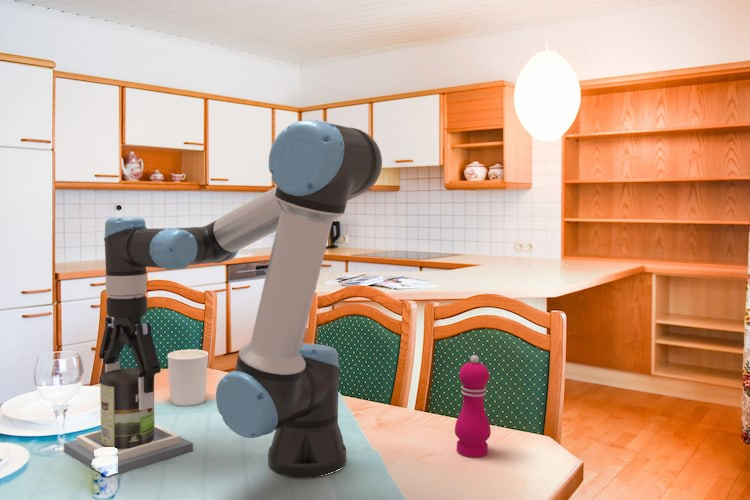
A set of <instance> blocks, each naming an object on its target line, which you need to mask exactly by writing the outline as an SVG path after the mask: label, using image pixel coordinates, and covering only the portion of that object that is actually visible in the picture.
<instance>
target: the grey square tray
mask: <svg viewBox="0 0 750 500" xmlns="http://www.w3.org/2000/svg"><path fill="white" fill-rule="evenodd" d="M154 438H155V441H154V442H150V443H147V444H143V445H140V446H136V447H133V448H129V449H126V450H122V451H119V452H117V456H118V474H122V473H125V472H128V471H131V470H134V469H138V468H140V467H145V466H147V465H151V464H154V463H157V462H160V461H162V460H167V459H170V458H172V457H176V456H180V455H183V454H186V453H189V452H192V451H194V442H192V441H189V440H187V439H185V438H183V437H182V436H181V435H180V434H177V433H176V432H173V431H171V430H169V429H167V428H165V427H163V426H160V425H158V424H156V423H154ZM98 448H102V446H101V429H100V430H99V429H98V430H96V431H92V432H89V433H88V432H87V433H83V434H80V435H77V436H76V440H73V441H69V442H64V443H63V451H64V452H66V454H68V455H70V456H72V457H73V458H74V459H76V460H78V461H79V462H82V463H83V464H85V465H86V466H87V467H89V468H91V469H92V465H91V463H92V460H93V459H94V458H95V456H94V450H95V449H98ZM118 474H117V475H118Z"/></svg>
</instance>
